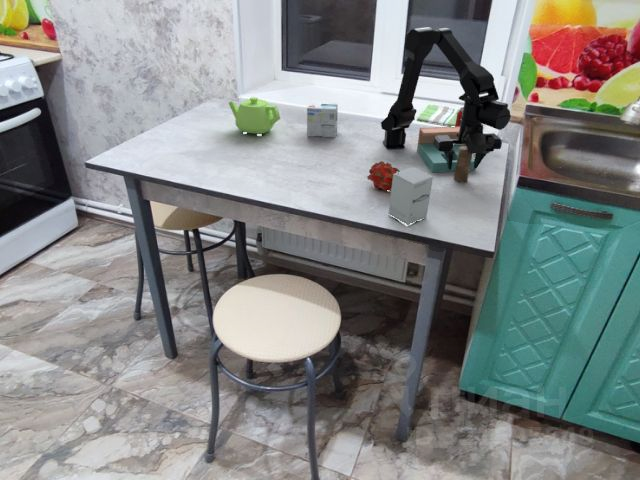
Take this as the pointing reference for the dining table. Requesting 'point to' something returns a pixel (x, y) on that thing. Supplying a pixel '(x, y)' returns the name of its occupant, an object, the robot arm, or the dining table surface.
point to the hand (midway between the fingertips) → (462, 168)
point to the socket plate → (431, 153)
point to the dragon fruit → (382, 175)
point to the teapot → (255, 115)
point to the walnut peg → (462, 165)
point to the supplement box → (410, 195)
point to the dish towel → (439, 115)
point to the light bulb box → (322, 119)
